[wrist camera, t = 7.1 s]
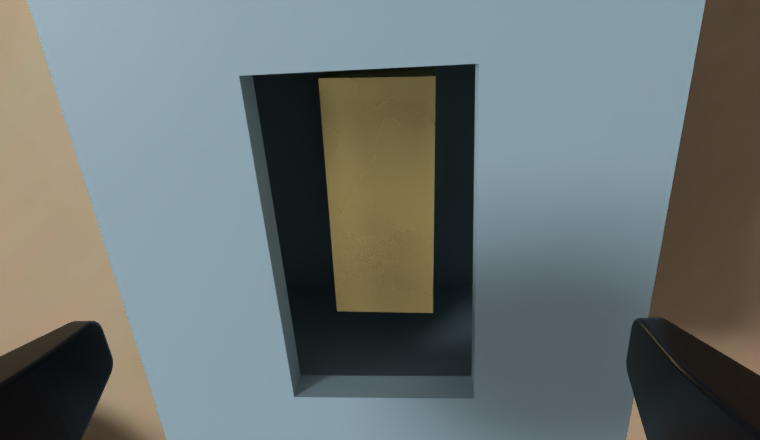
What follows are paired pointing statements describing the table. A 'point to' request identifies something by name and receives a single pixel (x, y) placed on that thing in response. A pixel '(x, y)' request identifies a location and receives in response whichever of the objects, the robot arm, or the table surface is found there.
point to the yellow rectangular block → (381, 186)
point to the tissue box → (311, 211)
